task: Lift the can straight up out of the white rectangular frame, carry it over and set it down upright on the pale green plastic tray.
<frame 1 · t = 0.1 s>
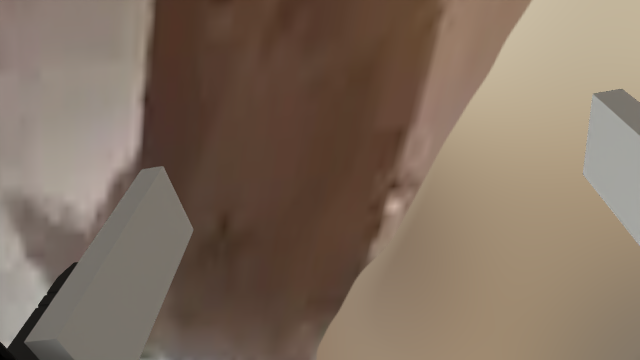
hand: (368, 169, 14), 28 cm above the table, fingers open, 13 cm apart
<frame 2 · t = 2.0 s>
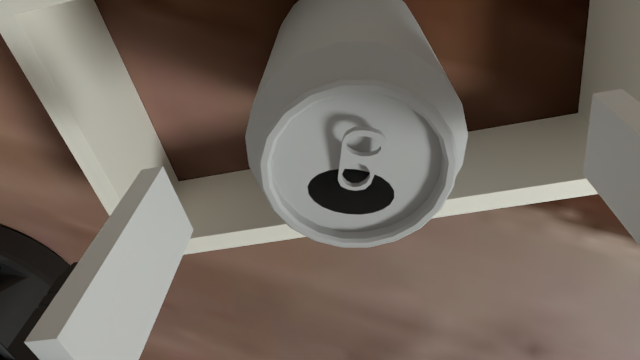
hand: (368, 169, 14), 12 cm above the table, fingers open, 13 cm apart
can: (347, 51, 24), resting in white rectangular frame
white rectangular frame: (348, 52, 24), on the table
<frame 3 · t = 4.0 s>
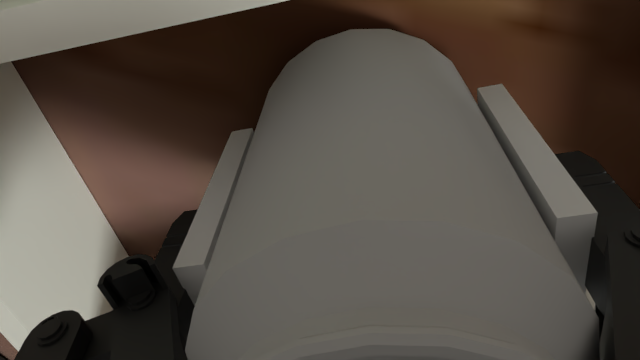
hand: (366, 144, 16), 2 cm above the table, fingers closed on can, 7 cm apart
can: (364, 120, 17), resting in white rectangular frame, touching gripper
white rectangular frame: (365, 123, 17), on the table
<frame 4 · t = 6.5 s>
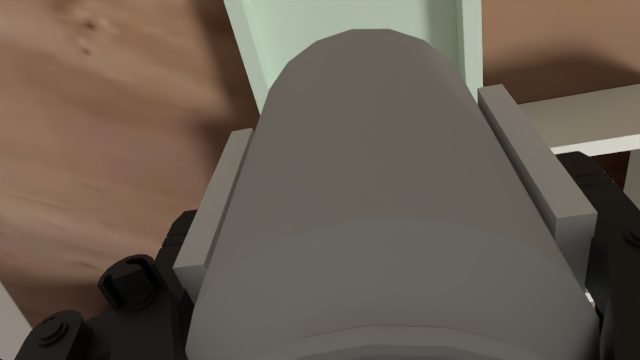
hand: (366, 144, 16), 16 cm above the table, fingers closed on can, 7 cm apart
can: (364, 119, 17), point 14 cm above the table, touching gripper
white rectangular frame: (463, 193, 36), on the table
tray: (355, 18, 29), on the table
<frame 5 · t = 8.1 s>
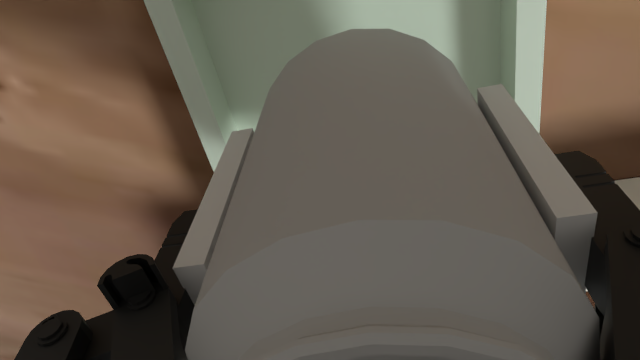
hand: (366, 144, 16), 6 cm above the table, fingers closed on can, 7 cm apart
can: (364, 119, 17), point 4 cm above the table, touching gripper
white rectangular frame: (495, 288, 28), on the table
tray: (358, 78, 21), on the table
when the fingers open (4 cm above the table, at t = 9.4 s): can drops 1 cm, resting on tray.
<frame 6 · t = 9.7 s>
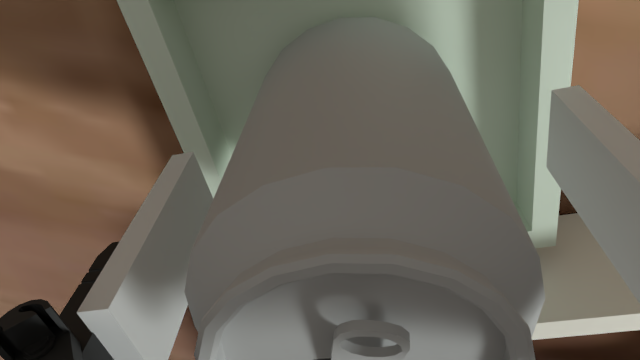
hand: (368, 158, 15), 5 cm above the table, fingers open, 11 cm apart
can: (356, 104, 18), point 1 cm above the table, touching tray
white rectangular frame: (507, 314, 26), on the table
tray: (362, 95, 19), on the table
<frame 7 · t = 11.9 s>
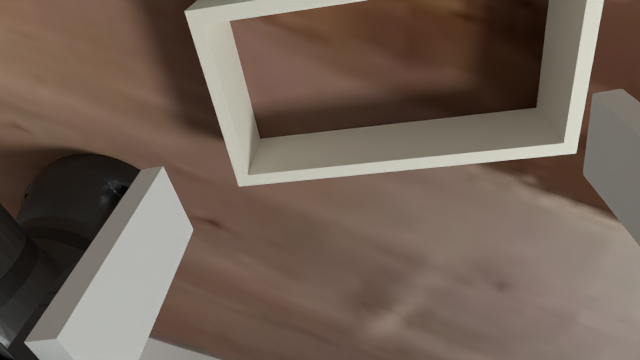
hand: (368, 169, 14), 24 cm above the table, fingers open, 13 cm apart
white rectangular frame: (387, 57, 37), on the table
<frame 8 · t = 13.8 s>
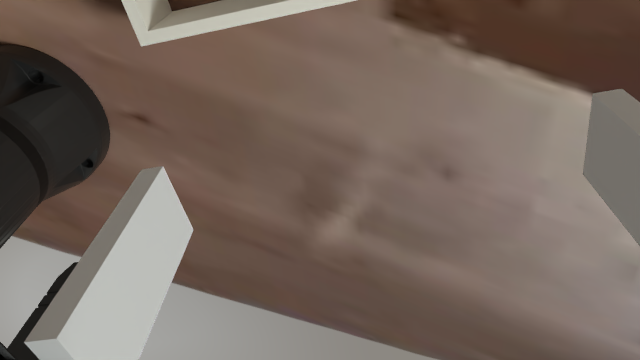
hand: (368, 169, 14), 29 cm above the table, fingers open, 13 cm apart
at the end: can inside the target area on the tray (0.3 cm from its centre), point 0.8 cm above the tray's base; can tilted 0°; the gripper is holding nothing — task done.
